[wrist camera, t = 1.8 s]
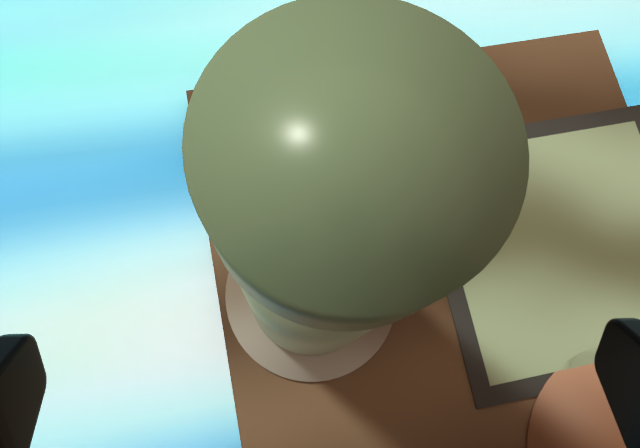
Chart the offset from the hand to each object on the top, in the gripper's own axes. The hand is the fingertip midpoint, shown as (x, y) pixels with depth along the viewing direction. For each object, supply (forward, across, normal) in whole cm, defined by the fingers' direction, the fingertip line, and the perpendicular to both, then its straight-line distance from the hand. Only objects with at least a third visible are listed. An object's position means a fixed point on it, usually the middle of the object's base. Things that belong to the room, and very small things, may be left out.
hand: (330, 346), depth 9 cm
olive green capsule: (+8, 0, +5) cm, 9 cm away
